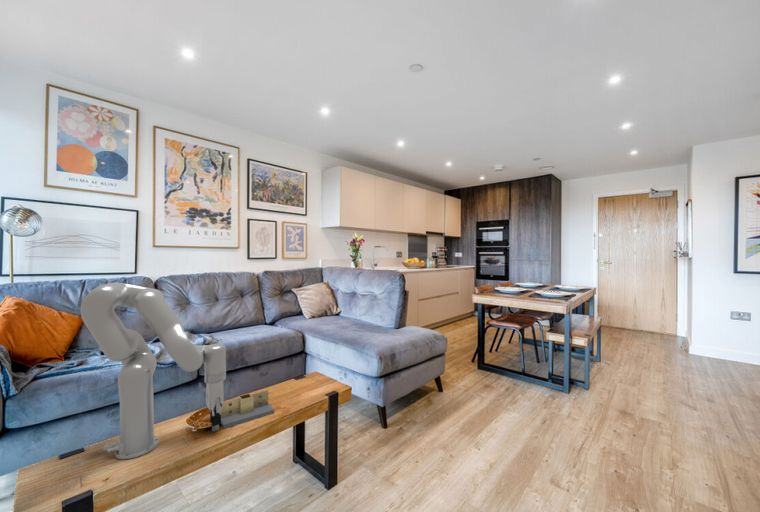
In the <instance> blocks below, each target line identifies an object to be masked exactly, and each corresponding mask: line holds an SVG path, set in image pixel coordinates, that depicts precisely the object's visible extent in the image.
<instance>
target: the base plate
mask: <svg viewBox="0 0 760 512" xmlns="http://www.w3.org/2000/svg"><path fill="white" fill-rule="evenodd" d="M272 414H275V409H274V407H273V406H272V405H271V404H270V403H269V402H268V405H264V406H261V407H257V408H254V411H252V412H248V413H245V414H240V413H236V414H233V415H229V416H226V417H223V418H221V424H220V425H221V427H222V429H226V428H230V427H234V426H237V425H240V424H242V423H247V422H250V421H253V420H255V419H259V418H262V417H265V416H269V415H272Z"/></svg>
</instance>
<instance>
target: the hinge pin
mask: <svg viewBox="0 0 760 512" xmlns="http://www.w3.org/2000/svg"><path fill="white" fill-rule="evenodd" d="M214 407H216V406H214ZM215 410H216V409H215ZM215 410H214V411H215ZM212 416H213V415H212ZM219 429H220V425H216V426H212V425H211V431H212V432H218V431H219Z"/></svg>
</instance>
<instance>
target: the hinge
mask: <svg viewBox="0 0 760 512" xmlns="http://www.w3.org/2000/svg"><path fill="white" fill-rule="evenodd" d="M268 403H269V390H264V391H259V392H256V393H250V392H249V393H248V392H247V393H245V394H241V395H237V397H236V398H233V399H229V400H226V401H224V404H223V407H221V418H223V417H226V416H229V415H233V414H236V413H240V414H245V413H248V412H252V411H254V408H257V407H261V406H264V405H268Z"/></svg>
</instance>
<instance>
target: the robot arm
mask: <svg viewBox="0 0 760 512" xmlns="http://www.w3.org/2000/svg"><path fill="white" fill-rule="evenodd" d="M118 306H119V307H125V308H131V309H132V308H133V309H135V310H136V311H137V313H138V314H139V315H140V316H141V318H142V319H143V320H144V321H145V322H146V324H147V325H148V326H149V328H151V330H152V331H153V332H154V333H155V334H156V336H157V337H158V339H159V341H160V343H161V344H162V346H163V348H164V349H165V350H166V352H167V353H168V355H169V356H170V358H171V359H172V360H173V361H174V363H176V364H177V366H178V367H179V368H180V369H181V370H182V371H185V372H188V373H190V372H195V371H197V370H199V369H200V368H201V367H202V365H204V367H203V368H204V377H203V378H204V383H205V384H206V386H205V387H206V388H205V404H206V406H207V408H208V410H209V411H210V413H209V423H210V424H211V427H212V426H216V425H219V426H220V425H222V424H221V407H223V404H224V402H225V401H224V400H225V399H224V398H225V397H224V396H225V395H224V387H225V386H224V381H225V380H226V379H227V362H226V361H227V360H226V359H227V358H226V357H227V347H226V345H225V344H224V343H211V344H207V345H206V344H202V345H201V344H193V343H192V341H191V340H190V338H189V337H188V335H187V334H186V331H185V329H184V325H183V323H182V321H181V319H180V317H178V316H177V314H176V313H175V312H174V310H172V309H173V308H171V307H170V306H169V304H168V303H167V301H166V299H165V294H164V293H163V292H162V291H161V290H159V289H157V288H152V287H146V286H140V285H135V284H129V283H124V282H116V281H115V282H110V283H104V284H100V285H99V286H96V287H95V288H93V289H92V290H90V292H89V293H87V294H86V296H85V297H84V298H83V300H82V301H81V305H80V309H79V312H80V317H81V319H82V321H83V323H84V325H85V326H86V328H87V329H88V330H89V332H90V334H91V335H92V337H93V339H94V340H95V342H96V344H97V345H98V347H99V348H100V350H101V351H102V352H103V354H104V356H105V357H106V358H107V359H108V360H109V361H111V362H116V363H117V362H119V363H121V365H122V367H121V369H120V371H119V373H118V377H117V387H118V388H117V389H118V394H119V397H118V398H119V433H120V434H119V436H120V437H119V439H118V440H116V441H115V442H112V443H107V444H104V445H103V448H102V449H103V450H102V452H106V453H107V454H108V453H113V452H114V457H115V458H116V459H118V460H128V459H134V458H138V457H141V456H143V455H146V454H148V453H150V452H152V451H153V450H154V449H156V447H158V446H159V444H160V437H158V436H156V435H155V424H154V423H155V418H154V414H155V413H154V412H155V411H154V409H155V407H154V406H155V405H154V403H155V402H154V383H153V377H154V373H155V371H156V368H157V363H158V361H157V359H156V357H155V355H154V353H153V352H152V350H151V349H150V347H149V345H148V343H147V342H146V341H145V339H144V336H142V334H141V333H139V332H138V331H137V330H136V329H135V330H134V329H130V328H126V327H125V325H124V324H123V322H122V320H121V318H120V317H119V316H118V315H117V314H116V312H115V309H116V307H118ZM214 406H216V407H214ZM215 409H216V410H215ZM214 410H215V411H214ZM212 415H213V416H212Z"/></svg>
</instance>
